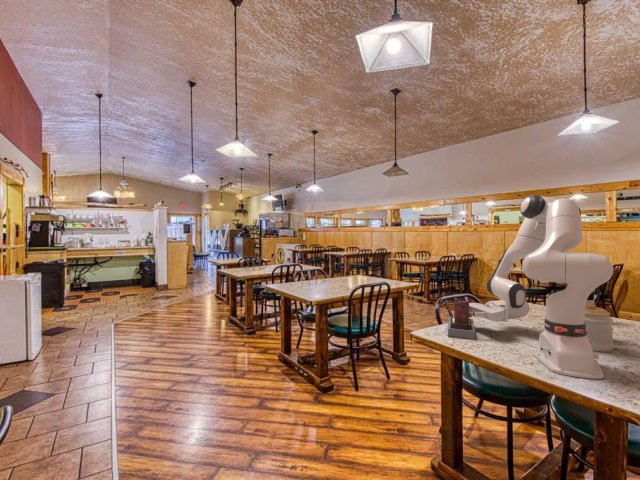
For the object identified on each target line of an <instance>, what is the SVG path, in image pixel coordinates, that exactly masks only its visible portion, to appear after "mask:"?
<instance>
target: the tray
mask: <svg viewBox="0 0 640 480" xmlns="http://www.w3.org/2000/svg"><path fill="white" fill-rule="evenodd" d="M453 318H454V316H448V324H447V325H448V326H447V337H448V338H458V339H465V340H466V339H467V340H476V329H475V323H474V319H473V318H471V317H469V321H470V324H469V330H462V329H454V323H453V322H452V319H453Z"/></svg>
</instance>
